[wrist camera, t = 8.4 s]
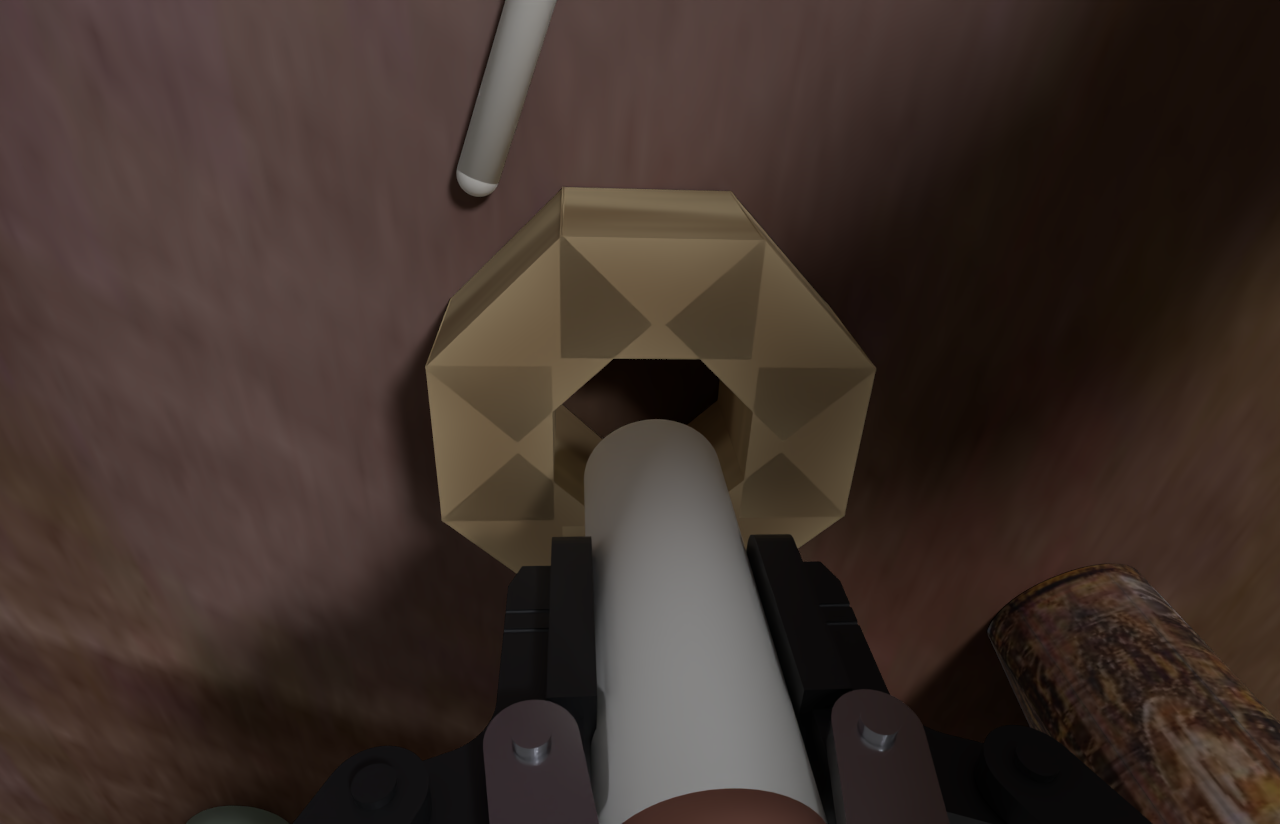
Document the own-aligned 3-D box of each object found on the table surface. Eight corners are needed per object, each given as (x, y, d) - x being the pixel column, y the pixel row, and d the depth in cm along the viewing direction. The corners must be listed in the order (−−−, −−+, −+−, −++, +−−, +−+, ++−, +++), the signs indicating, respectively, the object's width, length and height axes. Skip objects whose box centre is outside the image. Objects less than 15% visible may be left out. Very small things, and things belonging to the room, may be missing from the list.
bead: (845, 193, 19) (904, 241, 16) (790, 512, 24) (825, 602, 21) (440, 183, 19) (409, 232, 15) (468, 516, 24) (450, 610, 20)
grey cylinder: (727, 419, 16) (904, 931, 8) (713, 531, 18) (849, 1067, 9) (584, 419, 16) (600, 949, 7) (583, 533, 17) (594, 1086, 9)
